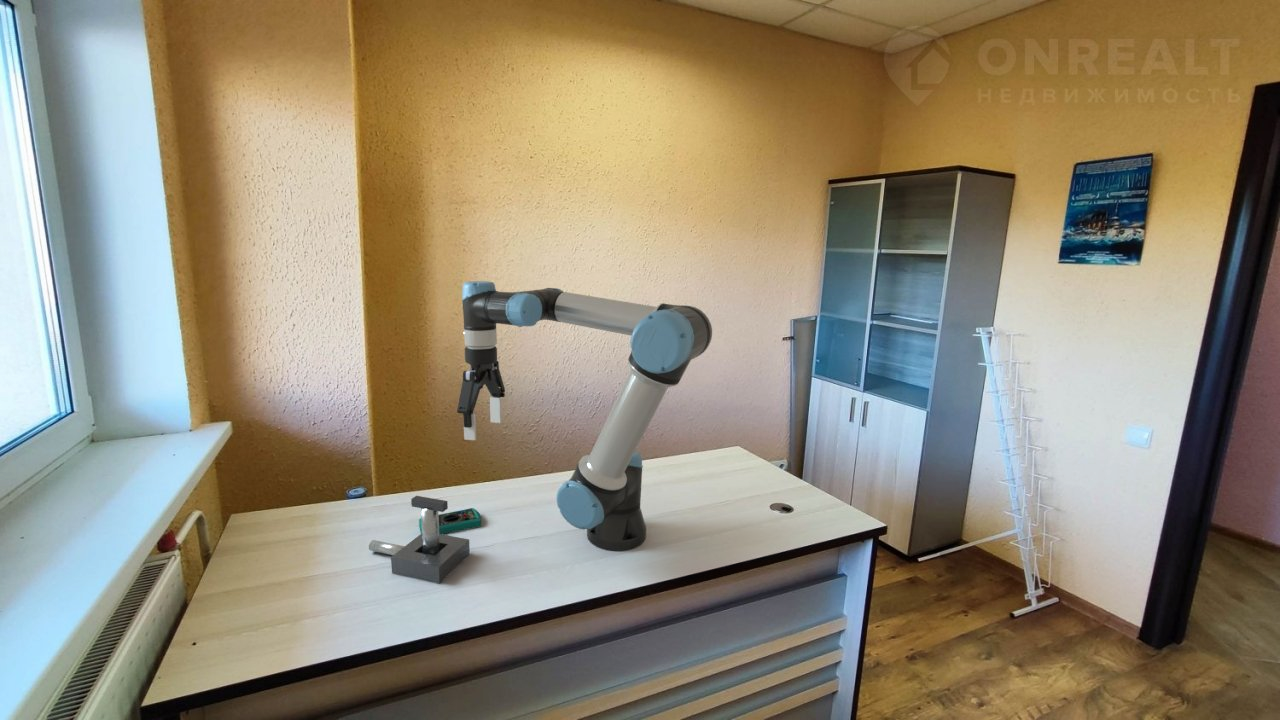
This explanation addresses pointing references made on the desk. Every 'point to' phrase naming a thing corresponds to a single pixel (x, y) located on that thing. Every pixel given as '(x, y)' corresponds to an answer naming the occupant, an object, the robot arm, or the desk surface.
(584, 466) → the robot arm
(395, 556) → the block
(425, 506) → the t key
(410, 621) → the desk surface
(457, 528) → the digital multimeter
